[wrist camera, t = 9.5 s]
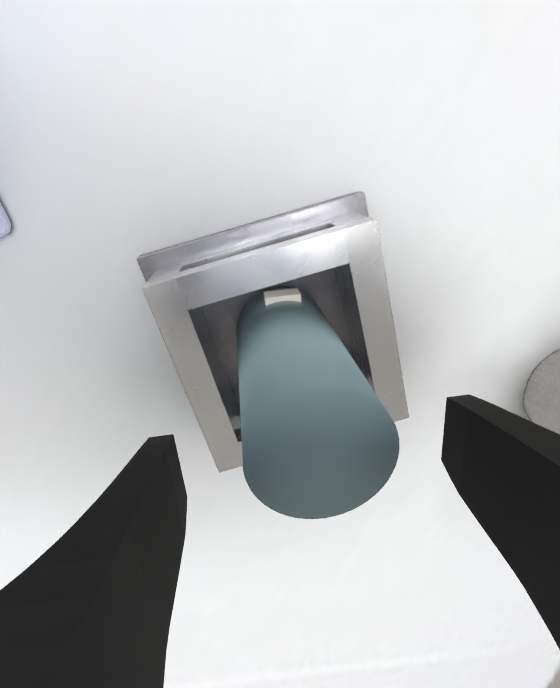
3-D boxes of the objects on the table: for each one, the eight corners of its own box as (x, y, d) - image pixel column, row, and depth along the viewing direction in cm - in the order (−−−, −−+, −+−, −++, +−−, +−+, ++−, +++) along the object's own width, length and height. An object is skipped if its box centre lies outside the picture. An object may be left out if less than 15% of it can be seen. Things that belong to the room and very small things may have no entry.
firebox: (140, 255, 18) (118, 276, 14) (358, 191, 18) (390, 196, 14) (213, 435, 21) (210, 486, 18) (392, 383, 21) (424, 424, 18)
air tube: (325, 365, 20) (396, 507, 11) (241, 375, 19) (250, 528, 11) (323, 278, 18) (403, 371, 10) (230, 288, 18) (232, 391, 9)
